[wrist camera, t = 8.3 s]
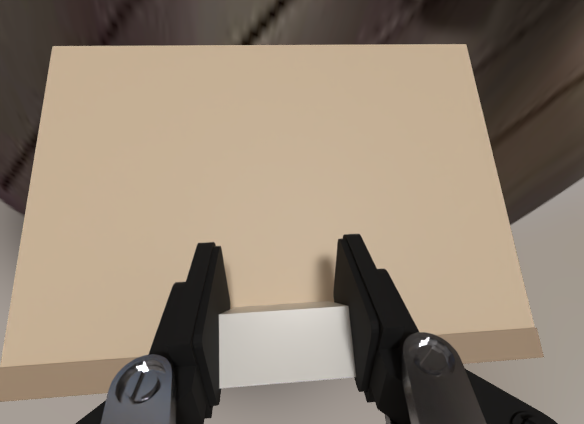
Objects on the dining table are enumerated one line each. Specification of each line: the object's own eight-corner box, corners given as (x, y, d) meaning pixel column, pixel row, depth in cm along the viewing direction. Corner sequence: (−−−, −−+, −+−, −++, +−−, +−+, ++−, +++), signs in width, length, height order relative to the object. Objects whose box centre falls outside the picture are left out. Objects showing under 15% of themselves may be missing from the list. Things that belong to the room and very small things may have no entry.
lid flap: (459, 52, 18) (522, -28, 13) (530, 353, 14) (653, 385, 9) (60, 55, 16) (-21, -35, 12) (8, 396, 12) (-147, 458, 8)
